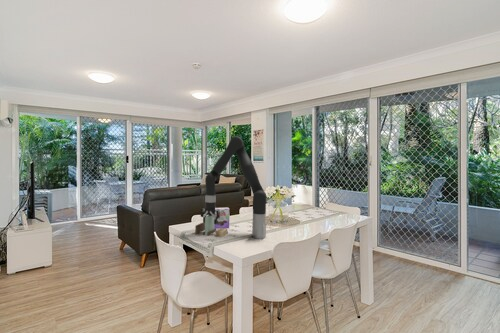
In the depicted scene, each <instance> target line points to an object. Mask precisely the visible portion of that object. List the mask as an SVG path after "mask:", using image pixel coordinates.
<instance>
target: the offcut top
mask: <svg viewBox="0 0 500 333" xmlns="http://www.w3.org/2000/svg"><path fill="white" fill-rule="evenodd" d="M227 231H228V228H218V229H216V231H215V232H214V233H215V234H220V235H222V234H224V233H225V232H227Z"/></svg>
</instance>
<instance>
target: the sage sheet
mask: <svg viewBox="0 0 500 333" xmlns="http://www.w3.org/2000/svg"><path fill="white" fill-rule="evenodd" d="M214 228H215V224H214V217H213V216H210V215H207V216H206V217H205V230H204V232H205V235H204V236H207V233H208V232H210V231H212V230H214Z"/></svg>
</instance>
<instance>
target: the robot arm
mask: <svg viewBox="0 0 500 333" xmlns="http://www.w3.org/2000/svg"><path fill="white" fill-rule="evenodd" d="M234 154H236V156H237V159H238V163H239V167H240V170H241V172H242V175H243V177H244V178H245V180H246V183H247V184H248V185H249V186H250V189H251V191H252V195H253V196H252V226H251V227H252V229H251V230H252V232H251V237H252V238H253V239H256V240H257V239H258V240H259V239H260V240H261V239H262V240H263V239H265V238H266V237H267V235H266V234H267V223H266V218H267V217H266V215H267V193H266V192H265V190H264V189H263V186H262V185H261V183H260V180H259V179H260V178H259V176H258V174H257V171H256V168H255V166H254V164H253V162H252V159H251V158H250V156H249V155H248V152H247V150H246V148H245V144H244V140H243V139H242V137H240V136H237V135H236V136H233V137H231V139H230V141H229V143H228V145H227V146H226V149H225V150H224V152H223V153H222V155H221V156H220V157H219V158H218V159H217V161H216V163H215V164H214V166H213V167H212V169H211V171H210V172H209V173H208V174H207V175H206V176H205V197H204V200H205V201H204V202H205V203H204V208H201V209H200V217H201V218H203V219H202V223H203V222H204V223H205V217H206V216H209V215H210V216H213V217H214V224H216V223H217V219H218V218H220V210H216V209H215V208H217V205H216V202H217V197H216V181H217V179H218V178H219V177H220V175H221V174H222V173H223V171H224V170H225V168H226V167H227V165H228V164H229V162H230V160H231V158H232V157H233V155H234ZM215 212H216V213H217V216H216V214H215Z"/></svg>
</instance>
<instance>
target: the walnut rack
mask: <svg viewBox="0 0 500 333" xmlns="http://www.w3.org/2000/svg"><path fill="white" fill-rule="evenodd" d="M194 227H195V232H194V233H195V235H198V234H199V233H202V235H203V236H211V235H212V234H214V233H215V231H217V229H214V230H212V231H210V232H208V233H207V235H205V223H204V222H203V221H202V222H200V223H198V224H196V225H195V226H194Z"/></svg>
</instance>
